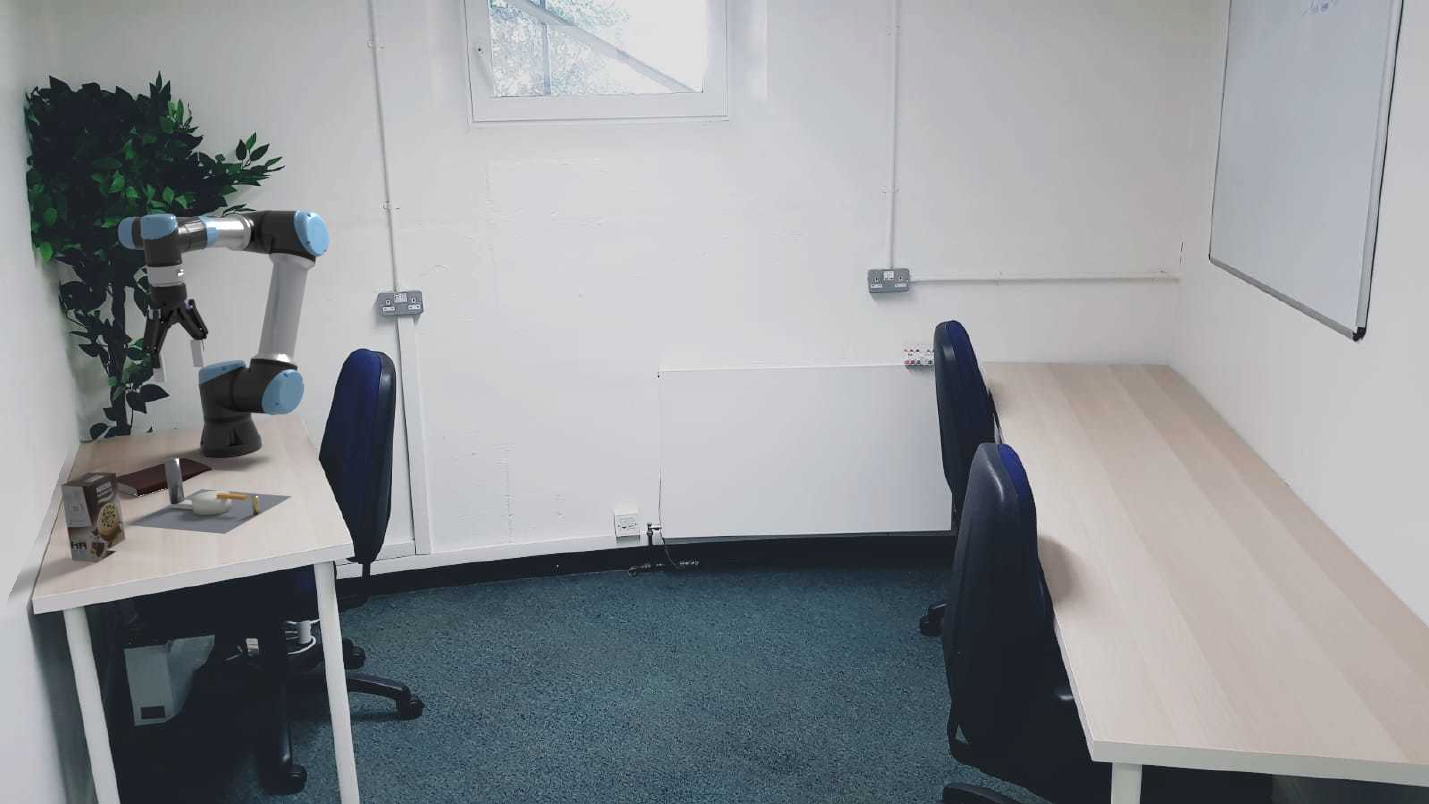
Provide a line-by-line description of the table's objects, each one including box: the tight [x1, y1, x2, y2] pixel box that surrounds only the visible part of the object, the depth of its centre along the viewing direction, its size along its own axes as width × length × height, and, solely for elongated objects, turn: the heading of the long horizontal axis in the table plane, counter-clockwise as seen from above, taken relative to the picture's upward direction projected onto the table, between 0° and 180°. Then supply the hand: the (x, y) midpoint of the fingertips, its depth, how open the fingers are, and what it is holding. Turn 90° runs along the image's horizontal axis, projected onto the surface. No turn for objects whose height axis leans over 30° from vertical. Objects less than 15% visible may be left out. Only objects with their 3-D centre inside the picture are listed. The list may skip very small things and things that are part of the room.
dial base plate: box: [128, 488, 292, 534], centre depth 267 cm, size 24×24×6 cm
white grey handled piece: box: [163, 456, 248, 516], centre depth 266 cm, size 20×8×11 cm, turn 75°
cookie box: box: [60, 471, 126, 563], centre depth 245 cm, size 9×6×16 cm
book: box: [116, 457, 212, 497], centre depth 291 cm, size 12×19×3 cm, turn 145°
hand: (180, 374), depth 279 cm, fingers open, 13 cm apart
